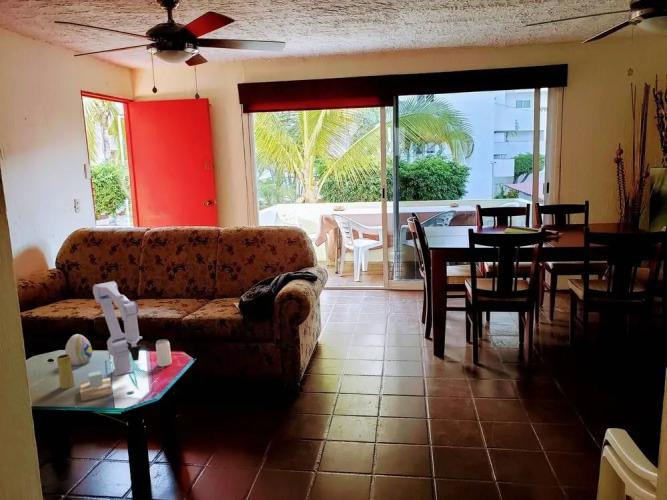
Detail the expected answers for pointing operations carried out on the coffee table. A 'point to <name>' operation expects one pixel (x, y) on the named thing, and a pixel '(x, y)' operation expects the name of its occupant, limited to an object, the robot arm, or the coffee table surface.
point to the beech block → (95, 390)
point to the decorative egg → (78, 349)
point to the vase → (65, 371)
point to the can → (163, 353)
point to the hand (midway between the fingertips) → (135, 357)
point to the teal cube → (95, 379)
